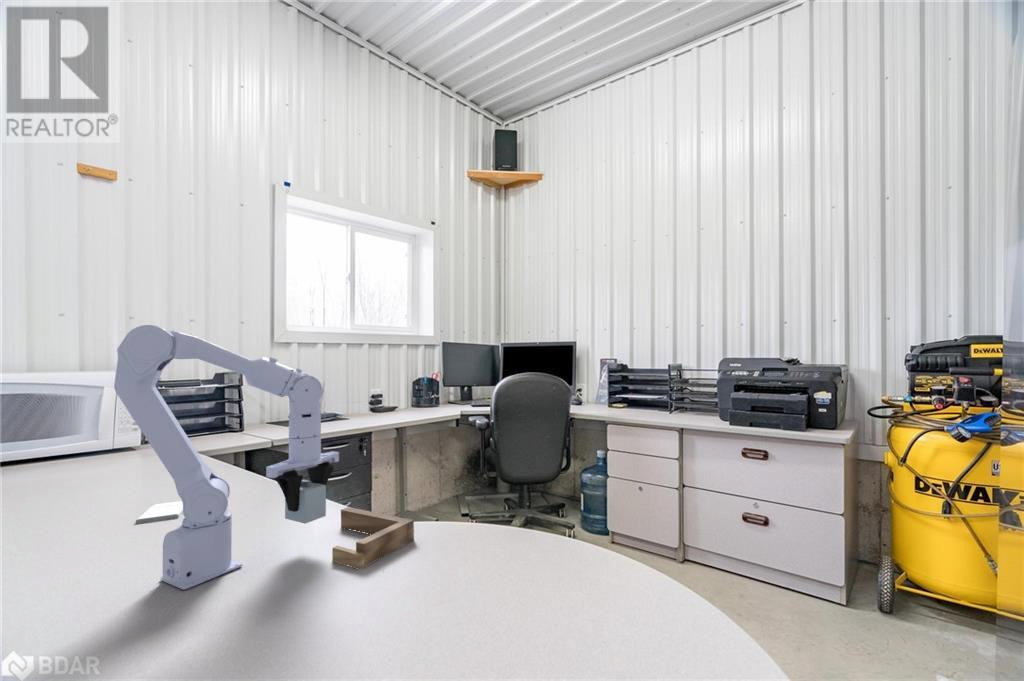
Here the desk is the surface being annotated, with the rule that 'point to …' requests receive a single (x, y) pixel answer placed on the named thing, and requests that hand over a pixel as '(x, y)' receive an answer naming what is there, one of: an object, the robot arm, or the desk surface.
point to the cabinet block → (309, 503)
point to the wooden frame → (372, 536)
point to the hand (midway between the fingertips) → (305, 506)
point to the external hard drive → (162, 512)
